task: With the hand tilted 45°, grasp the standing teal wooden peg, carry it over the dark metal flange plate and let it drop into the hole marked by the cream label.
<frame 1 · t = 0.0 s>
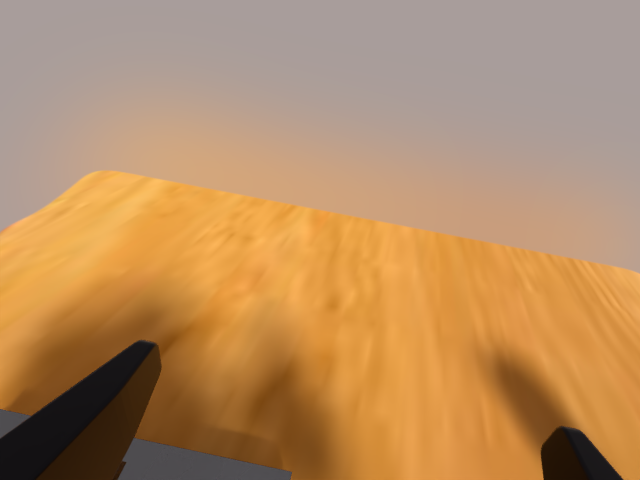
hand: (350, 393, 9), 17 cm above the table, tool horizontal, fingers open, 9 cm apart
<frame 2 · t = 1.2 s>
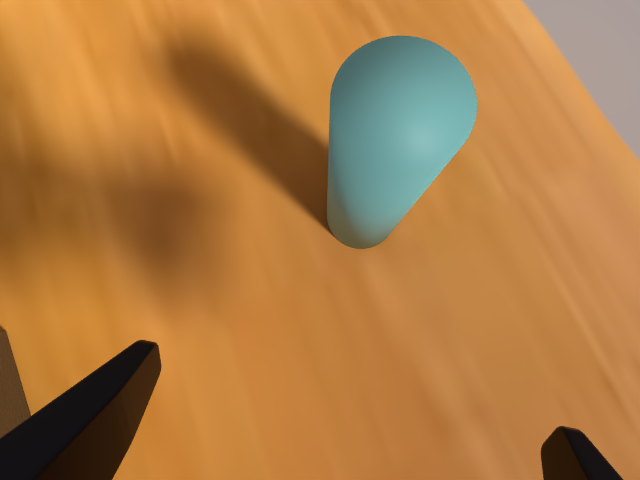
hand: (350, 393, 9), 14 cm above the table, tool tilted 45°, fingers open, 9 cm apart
peg: (360, 215, 24), on the table
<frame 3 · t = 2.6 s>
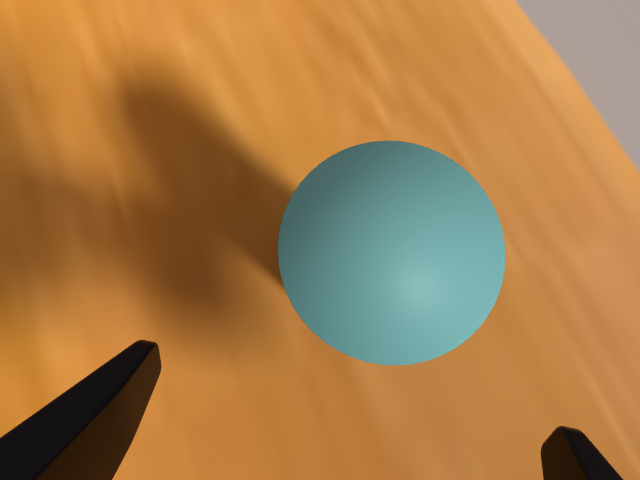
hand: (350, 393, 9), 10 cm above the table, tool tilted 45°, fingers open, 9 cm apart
peg: (347, 290, 20), on the table
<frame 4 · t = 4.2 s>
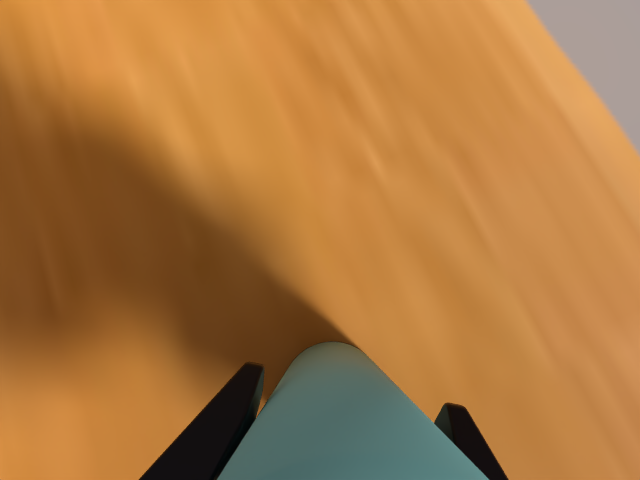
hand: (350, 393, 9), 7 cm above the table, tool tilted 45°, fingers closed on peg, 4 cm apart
peg: (332, 394, 16), on the table, touching gripper
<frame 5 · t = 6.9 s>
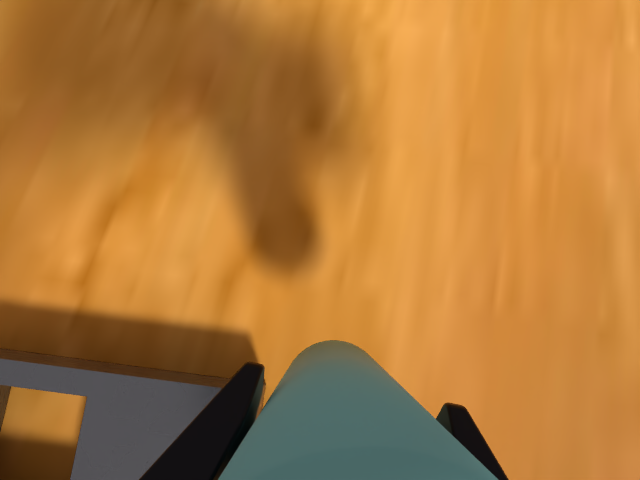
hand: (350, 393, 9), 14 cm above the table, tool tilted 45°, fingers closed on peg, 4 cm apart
flange plate: (102, 461, 22), on the table
peg: (333, 393, 16), point 6 cm above the table, touching gripper
when the fingers open (11 cm above the table, at t = 9.4 s): peg drops 4 cm, resting in flange plate.
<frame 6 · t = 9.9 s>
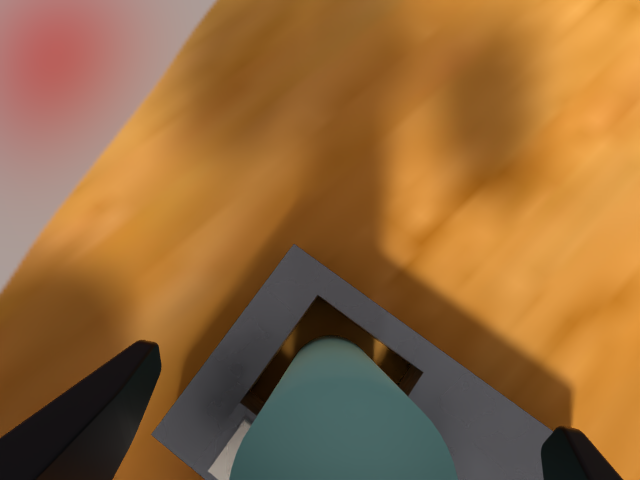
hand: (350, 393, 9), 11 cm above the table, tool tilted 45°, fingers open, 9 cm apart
flange plate: (370, 434, 19), on the table
peg: (330, 377, 20), resting in flange plate
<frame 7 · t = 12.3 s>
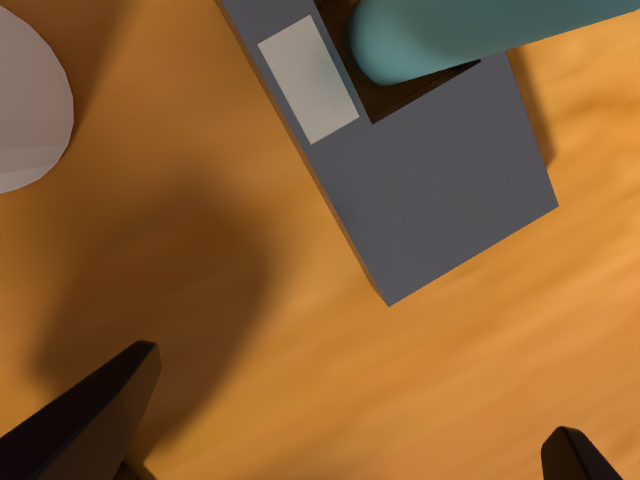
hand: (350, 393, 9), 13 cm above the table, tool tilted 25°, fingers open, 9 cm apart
flange plate: (390, 111, 20), on the table
peg: (381, 42, 19), resting in flange plate
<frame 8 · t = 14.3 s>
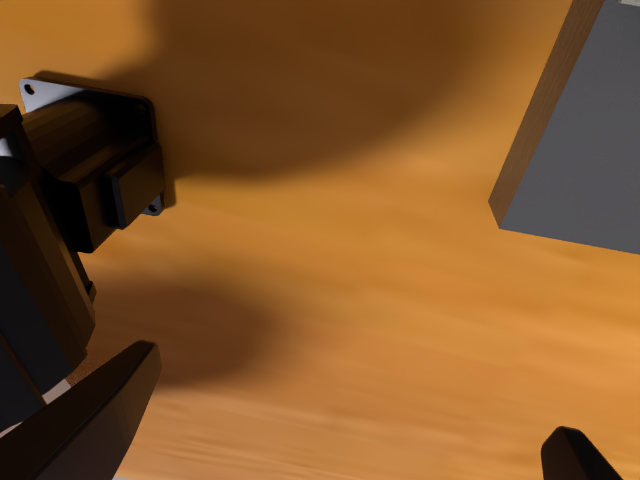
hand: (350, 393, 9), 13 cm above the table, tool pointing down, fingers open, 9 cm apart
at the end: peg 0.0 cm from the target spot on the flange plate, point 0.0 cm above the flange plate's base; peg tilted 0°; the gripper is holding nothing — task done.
